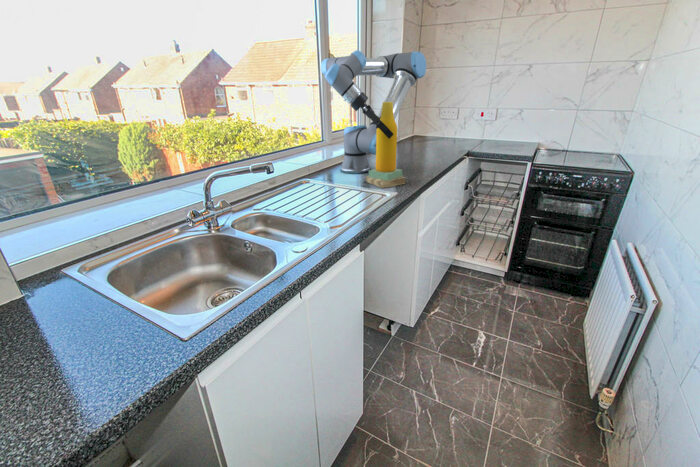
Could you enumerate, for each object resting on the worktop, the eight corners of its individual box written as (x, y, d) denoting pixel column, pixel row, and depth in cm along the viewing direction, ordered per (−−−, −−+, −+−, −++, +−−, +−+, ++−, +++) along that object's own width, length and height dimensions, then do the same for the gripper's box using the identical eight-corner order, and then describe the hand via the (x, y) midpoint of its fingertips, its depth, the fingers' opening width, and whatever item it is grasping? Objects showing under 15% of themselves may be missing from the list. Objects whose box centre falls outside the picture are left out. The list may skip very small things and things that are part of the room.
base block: (365, 181, 155) (365, 175, 154) (387, 178, 161) (388, 171, 160) (382, 188, 145) (382, 181, 144) (405, 183, 151) (405, 177, 150)
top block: (368, 176, 152) (368, 170, 151) (383, 172, 159) (383, 166, 158) (387, 180, 145) (387, 174, 144) (402, 176, 152) (402, 169, 151)
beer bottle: (398, 171, 148) (402, 102, 136) (379, 173, 146) (380, 102, 134) (391, 167, 156) (394, 101, 144) (373, 168, 154) (374, 102, 142)
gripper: (350, 103, 151) (382, 136, 157) (348, 106, 129) (385, 145, 134) (362, 90, 149) (393, 125, 155) (362, 91, 126) (399, 131, 132)
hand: (390, 134), depth 144 cm, fingers open, 13 cm apart
